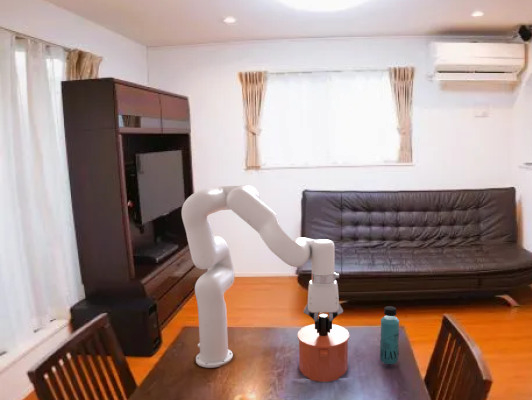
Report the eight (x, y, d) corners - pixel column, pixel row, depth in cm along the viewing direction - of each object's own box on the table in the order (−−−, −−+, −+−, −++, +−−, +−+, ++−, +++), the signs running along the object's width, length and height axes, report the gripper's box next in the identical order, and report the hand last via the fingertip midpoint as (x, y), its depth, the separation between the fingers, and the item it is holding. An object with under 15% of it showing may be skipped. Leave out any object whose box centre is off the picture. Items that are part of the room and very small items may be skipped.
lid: (296, 350, 134) (296, 326, 133) (298, 326, 151) (298, 305, 150) (351, 349, 134) (351, 326, 133) (347, 326, 151) (347, 305, 150)
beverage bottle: (377, 366, 145) (378, 310, 142) (382, 357, 151) (383, 303, 148) (396, 370, 143) (397, 312, 140) (400, 360, 149) (401, 305, 146)
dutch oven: (298, 386, 133) (298, 351, 131) (300, 353, 154) (300, 322, 153) (349, 386, 133) (350, 351, 132) (344, 352, 154) (345, 322, 153)
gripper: (347, 274, 143) (347, 326, 146) (298, 274, 143) (299, 326, 146) (349, 281, 136) (348, 336, 138) (297, 281, 136) (298, 336, 138)
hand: (323, 330), depth 142 cm, fingers closed on lid, 3 cm apart
